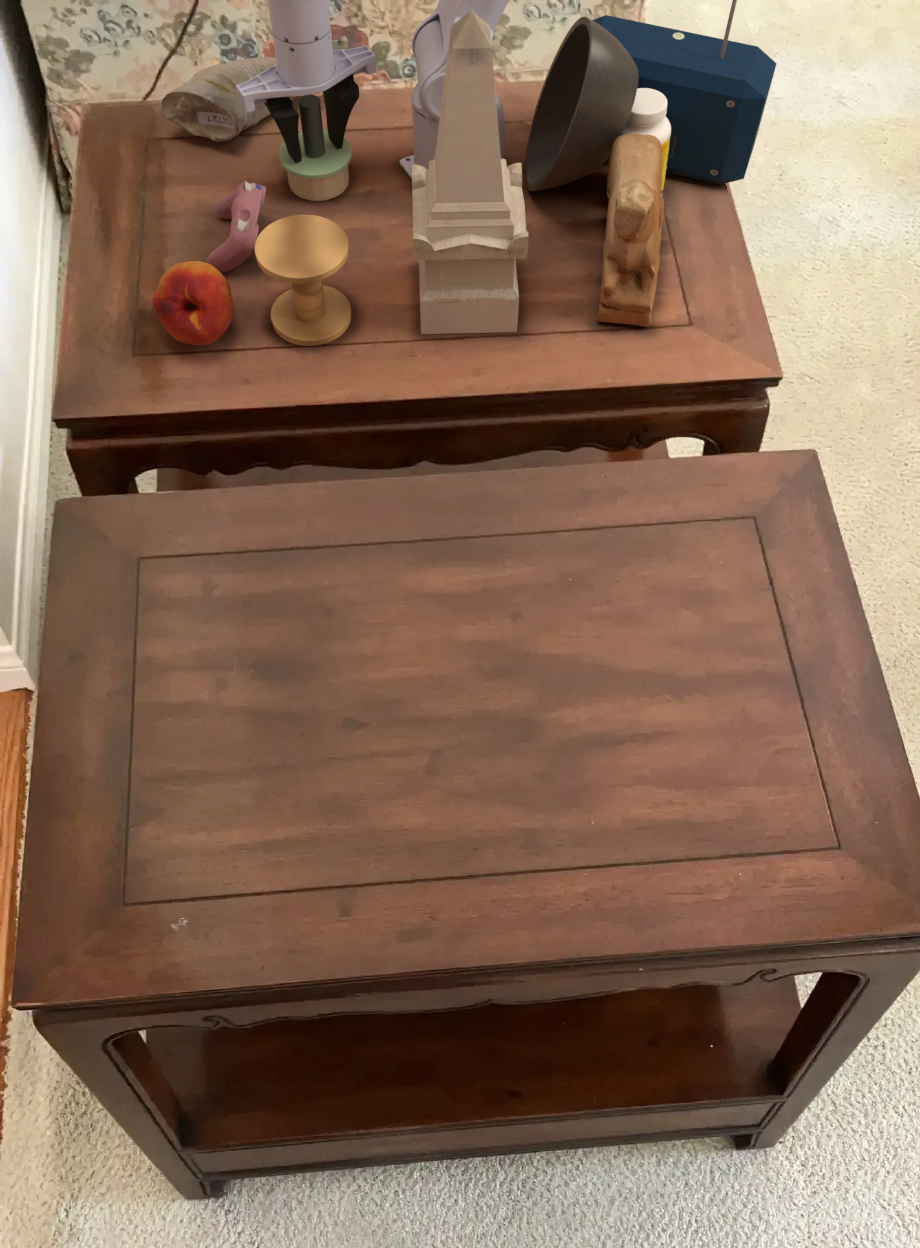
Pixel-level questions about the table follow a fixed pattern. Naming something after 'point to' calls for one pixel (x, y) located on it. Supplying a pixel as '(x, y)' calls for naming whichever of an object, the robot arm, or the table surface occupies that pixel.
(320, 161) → the cover
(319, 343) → the stand
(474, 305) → the miniature monument
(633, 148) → the sculpture
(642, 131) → the pill bottle
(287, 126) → the robot arm
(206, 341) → the fruit
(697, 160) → the radio
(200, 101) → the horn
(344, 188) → the dish
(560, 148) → the bowl
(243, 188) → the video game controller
